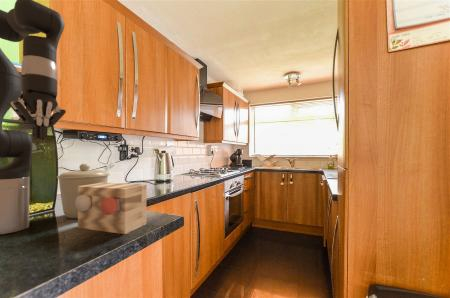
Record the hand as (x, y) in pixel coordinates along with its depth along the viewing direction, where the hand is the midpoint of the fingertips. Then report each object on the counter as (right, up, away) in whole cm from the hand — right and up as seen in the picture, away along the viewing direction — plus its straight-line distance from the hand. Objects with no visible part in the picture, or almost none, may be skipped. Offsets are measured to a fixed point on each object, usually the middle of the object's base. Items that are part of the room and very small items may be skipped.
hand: (39, 139), depth 59 cm
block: (+12, -29, +16) cm, 35 cm away
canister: (-7, -30, +29) cm, 42 cm away
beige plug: (+5, -23, +15) cm, 28 cm away
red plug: (+16, -23, +10) cm, 30 cm away
